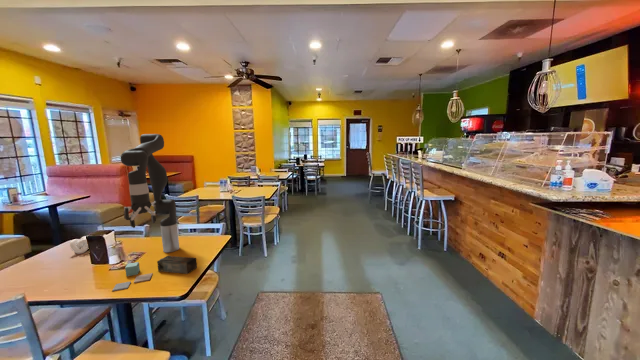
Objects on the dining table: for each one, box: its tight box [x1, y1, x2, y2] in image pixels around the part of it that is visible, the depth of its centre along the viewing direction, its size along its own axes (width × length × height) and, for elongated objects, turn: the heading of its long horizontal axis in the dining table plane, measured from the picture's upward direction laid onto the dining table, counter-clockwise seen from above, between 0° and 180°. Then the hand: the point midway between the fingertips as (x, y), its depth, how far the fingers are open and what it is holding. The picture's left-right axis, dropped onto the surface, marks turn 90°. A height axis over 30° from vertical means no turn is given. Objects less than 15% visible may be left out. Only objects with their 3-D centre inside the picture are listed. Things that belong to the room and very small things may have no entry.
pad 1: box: [111, 281, 131, 292], centre depth 131 cm, size 6×6×1 cm
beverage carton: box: [156, 255, 198, 275], centre depth 148 cm, size 8×19×7 cm, turn 78°
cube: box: [125, 261, 141, 277], centre depth 144 cm, size 5×5×5 cm
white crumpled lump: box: [69, 235, 89, 255], centre depth 174 cm, size 11×12×9 cm
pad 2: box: [133, 272, 153, 284], centre depth 139 cm, size 7×7×1 cm
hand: (143, 224), depth 132 cm, fingers open, 8 cm apart
